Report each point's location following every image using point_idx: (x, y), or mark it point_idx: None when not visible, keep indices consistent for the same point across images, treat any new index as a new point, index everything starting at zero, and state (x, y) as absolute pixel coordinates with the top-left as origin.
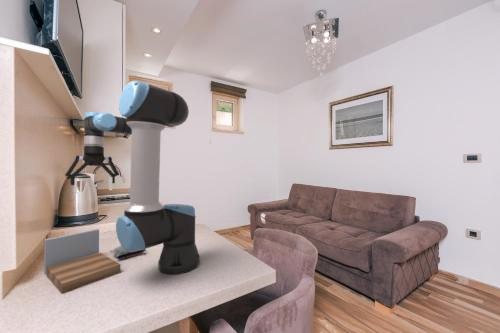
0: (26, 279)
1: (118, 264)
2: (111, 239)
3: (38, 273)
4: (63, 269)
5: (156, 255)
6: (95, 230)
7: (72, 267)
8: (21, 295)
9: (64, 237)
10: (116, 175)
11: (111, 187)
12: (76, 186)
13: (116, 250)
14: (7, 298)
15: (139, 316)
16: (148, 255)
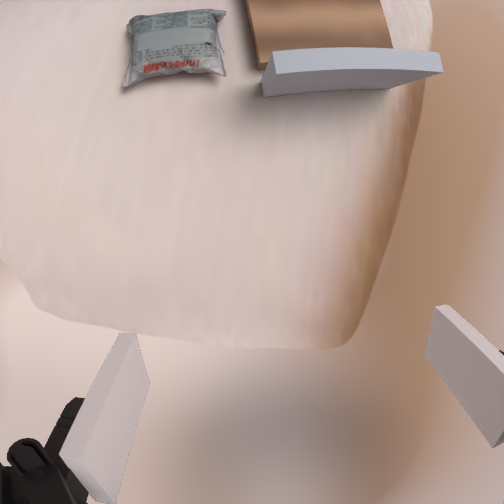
0: (417, 83)
1: None
2: (184, 289)
3: (399, 100)
4: (360, 8)
5: (115, 2)
6: (287, 50)
7: (342, 2)
8: (413, 6)
9: (393, 49)
10: (12, 469)
11: (118, 353)
12: (470, 336)
13: (213, 37)
14: (429, 16)
15: None
16: (131, 14)
